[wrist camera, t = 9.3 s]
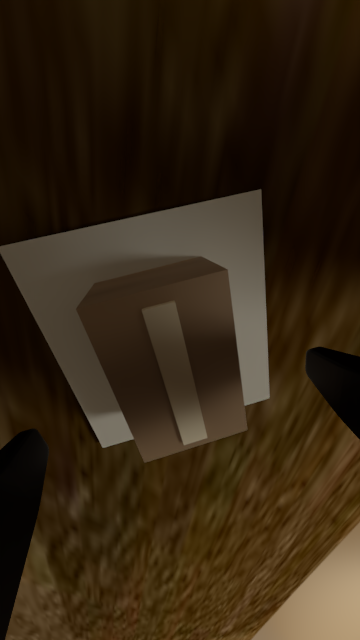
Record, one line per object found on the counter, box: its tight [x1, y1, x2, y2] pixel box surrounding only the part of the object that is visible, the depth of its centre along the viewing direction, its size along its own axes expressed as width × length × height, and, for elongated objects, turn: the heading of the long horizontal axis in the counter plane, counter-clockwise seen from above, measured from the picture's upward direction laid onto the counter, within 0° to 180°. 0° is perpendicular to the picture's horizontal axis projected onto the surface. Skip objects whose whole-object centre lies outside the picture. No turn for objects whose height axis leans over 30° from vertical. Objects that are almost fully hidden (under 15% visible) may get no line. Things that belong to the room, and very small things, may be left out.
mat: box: [0, 189, 270, 448], centre depth 11 cm, size 10×11×1 cm
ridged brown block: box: [76, 256, 247, 462], centre depth 9 cm, size 7×4×3 cm, turn 13°
